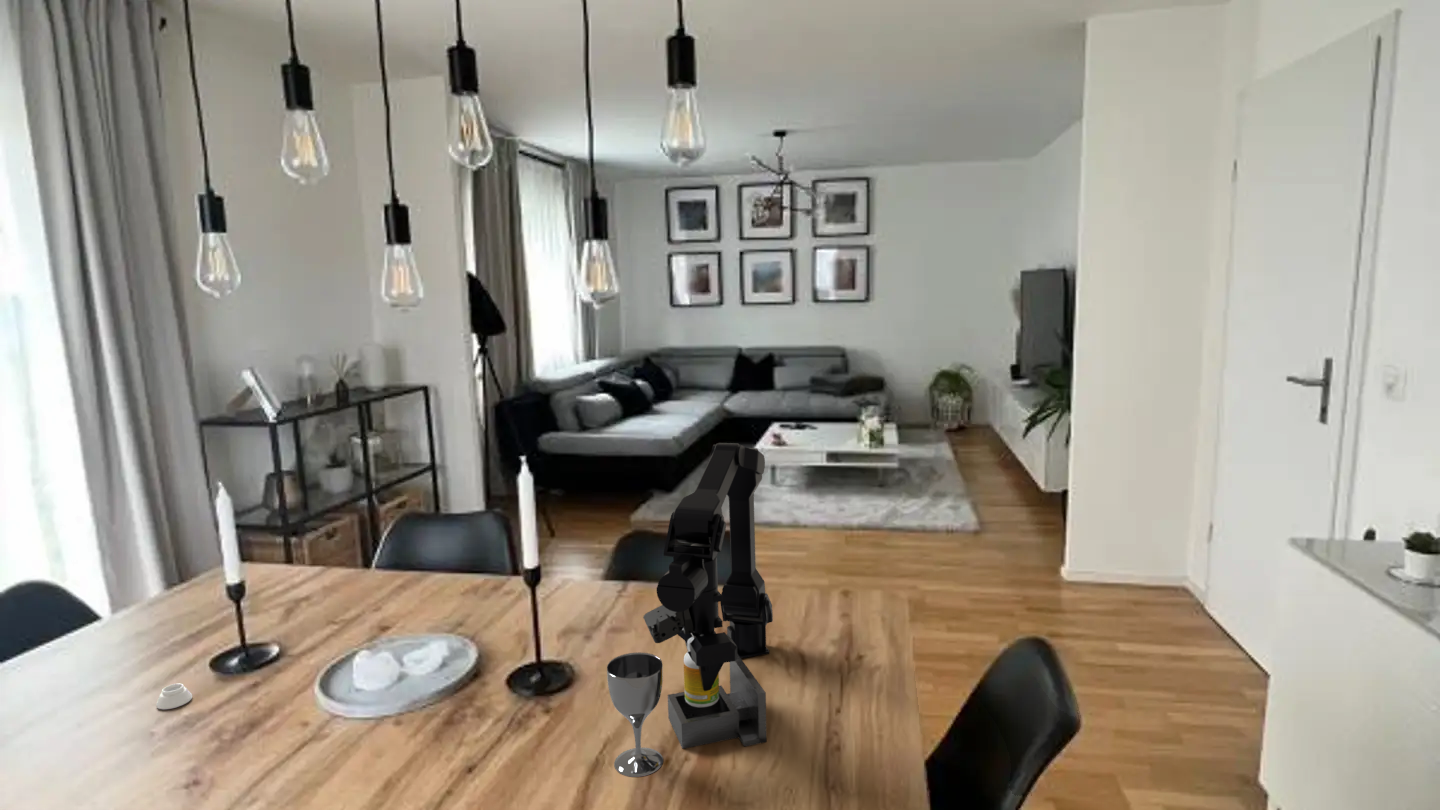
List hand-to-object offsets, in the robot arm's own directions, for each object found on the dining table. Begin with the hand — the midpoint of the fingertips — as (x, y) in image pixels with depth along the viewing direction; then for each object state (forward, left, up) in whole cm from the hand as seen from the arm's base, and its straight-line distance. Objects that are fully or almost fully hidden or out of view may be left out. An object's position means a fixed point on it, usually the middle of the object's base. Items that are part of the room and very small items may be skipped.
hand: (701, 681), depth 121 cm
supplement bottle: (0, 0, -3) cm, 3 cm away
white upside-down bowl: (+84, -37, -8) cm, 92 cm away
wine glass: (+11, +6, -8) cm, 15 cm away
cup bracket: (-2, 0, -8) cm, 8 cm away
